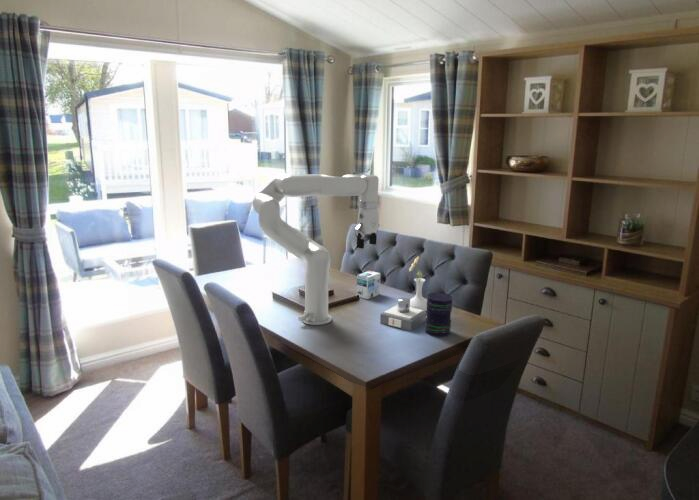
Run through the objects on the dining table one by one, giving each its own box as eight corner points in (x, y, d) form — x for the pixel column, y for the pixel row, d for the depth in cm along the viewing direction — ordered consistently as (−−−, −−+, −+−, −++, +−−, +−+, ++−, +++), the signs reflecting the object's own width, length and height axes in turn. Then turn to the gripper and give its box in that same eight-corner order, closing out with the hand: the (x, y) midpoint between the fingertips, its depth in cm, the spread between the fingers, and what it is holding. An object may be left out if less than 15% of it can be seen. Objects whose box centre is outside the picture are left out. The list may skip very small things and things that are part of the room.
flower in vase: (411, 303, 242) (414, 250, 237) (434, 308, 237) (438, 254, 231) (399, 311, 231) (401, 256, 226) (423, 316, 226) (426, 260, 220)
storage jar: (455, 332, 209) (457, 296, 206) (440, 339, 202) (442, 302, 199) (434, 325, 216) (437, 290, 213) (419, 331, 209) (421, 295, 206)
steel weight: (405, 314, 215) (406, 302, 213) (395, 311, 217) (395, 299, 216) (411, 310, 219) (412, 299, 217) (401, 308, 221) (401, 296, 220)
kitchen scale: (409, 331, 209) (410, 320, 208) (379, 323, 217) (379, 312, 215) (425, 320, 221) (426, 309, 220) (396, 313, 229) (397, 303, 227)
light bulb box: (367, 299, 246) (368, 277, 244) (355, 296, 250) (356, 274, 248) (380, 294, 254) (381, 272, 252) (368, 291, 258) (369, 270, 256)
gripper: (364, 208, 207) (362, 251, 211) (386, 204, 221) (384, 244, 225) (348, 206, 211) (347, 248, 215) (371, 202, 225) (369, 241, 229)
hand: (366, 246), depth 220 cm, fingers open, 9 cm apart
